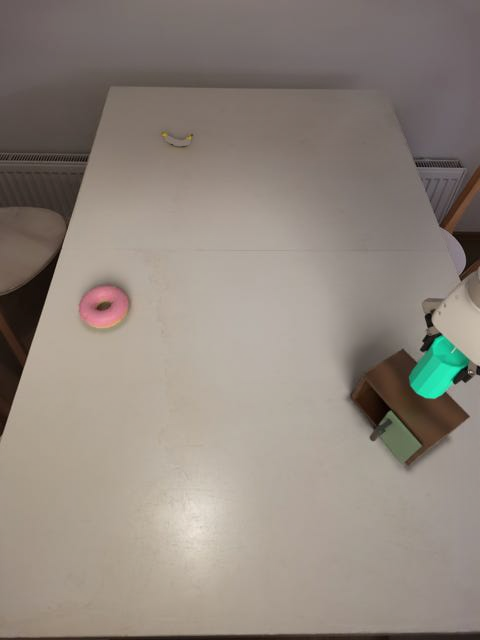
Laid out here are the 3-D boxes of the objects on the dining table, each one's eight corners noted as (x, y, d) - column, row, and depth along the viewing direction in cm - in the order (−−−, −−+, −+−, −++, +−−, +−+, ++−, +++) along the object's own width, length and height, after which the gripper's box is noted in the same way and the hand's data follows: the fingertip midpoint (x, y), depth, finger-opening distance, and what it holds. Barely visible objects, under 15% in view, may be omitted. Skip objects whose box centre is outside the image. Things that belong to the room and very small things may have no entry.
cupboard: (386, 374, 90) (403, 348, 81) (445, 437, 82) (470, 416, 73) (350, 398, 86) (363, 373, 78) (407, 466, 79) (429, 447, 70)
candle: (443, 403, 71) (478, 368, 61) (407, 392, 72) (434, 356, 62) (446, 372, 74) (479, 335, 64) (410, 362, 75) (437, 324, 65)
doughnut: (128, 330, 95) (124, 319, 91) (78, 332, 94) (72, 322, 91) (132, 291, 101) (128, 280, 98) (84, 293, 101) (79, 282, 97)
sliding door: (376, 429, 82) (390, 410, 75) (404, 462, 79) (422, 445, 71) (361, 439, 81) (374, 421, 73) (388, 473, 78) (405, 457, 70)
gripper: (585, 327, 50) (504, 393, 64) (467, 236, 58) (419, 314, 73) (545, 357, 47) (470, 419, 62) (428, 258, 55) (387, 334, 70)
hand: (443, 362), depth 67 cm, fingers closed on candle, 6 cm apart
